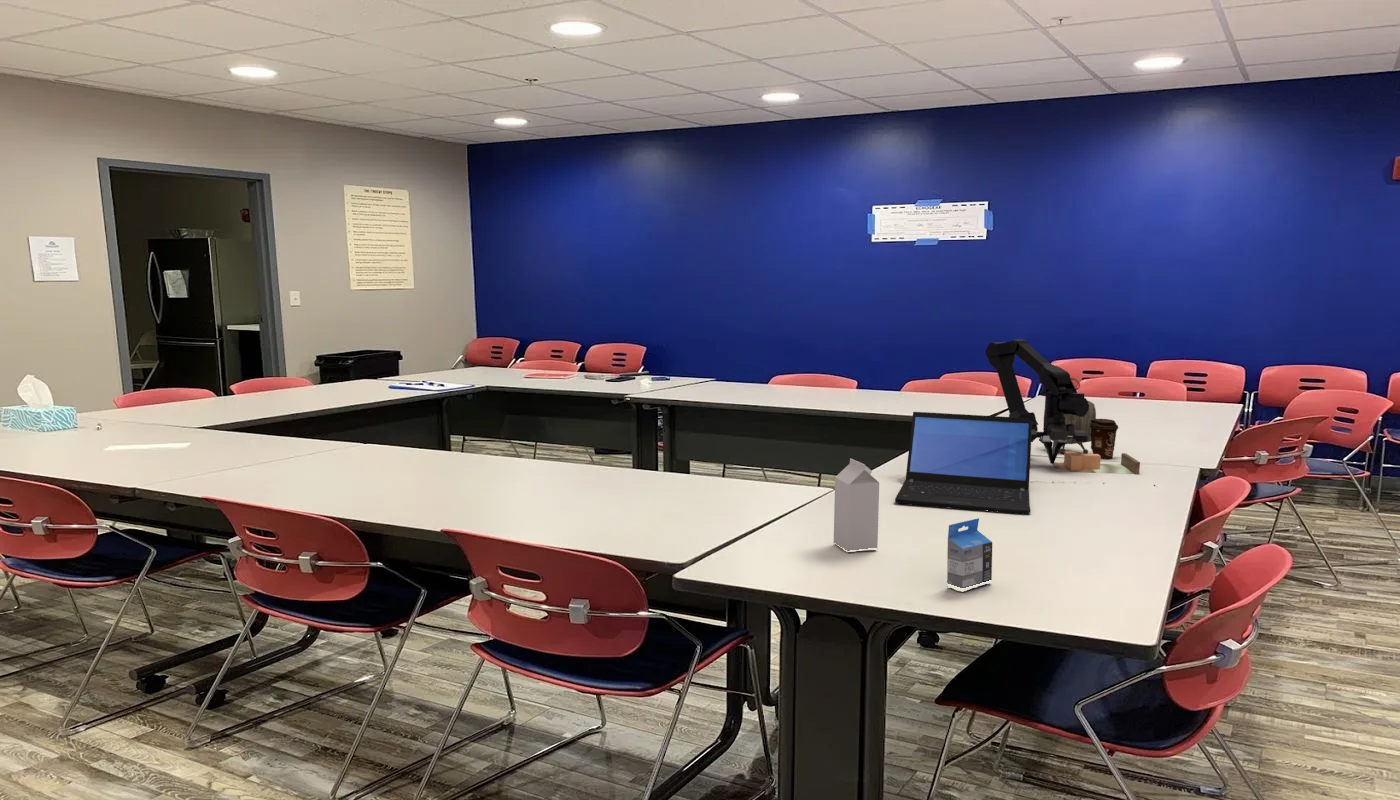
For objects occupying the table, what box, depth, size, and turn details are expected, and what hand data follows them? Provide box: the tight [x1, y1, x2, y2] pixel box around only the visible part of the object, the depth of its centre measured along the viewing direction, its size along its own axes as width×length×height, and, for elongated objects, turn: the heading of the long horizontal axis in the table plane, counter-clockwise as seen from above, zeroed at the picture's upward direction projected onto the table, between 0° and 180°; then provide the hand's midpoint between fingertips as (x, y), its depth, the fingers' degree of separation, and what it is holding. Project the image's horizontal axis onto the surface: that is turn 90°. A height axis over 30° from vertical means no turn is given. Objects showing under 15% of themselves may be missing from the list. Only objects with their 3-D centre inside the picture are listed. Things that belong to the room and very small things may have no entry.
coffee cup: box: [1090, 418, 1119, 460], centre depth 300 cm, size 9×8×13 cm
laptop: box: [894, 411, 1032, 515], centre depth 253 cm, size 33×38×19 cm
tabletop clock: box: [1043, 377, 1097, 454], centre depth 312 cm, size 14×9×25 cm, turn 30°
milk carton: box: [833, 458, 880, 551], centre depth 203 cm, size 7×7×19 cm
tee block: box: [1063, 450, 1102, 471], centre depth 284 cm, size 9×9×4 cm
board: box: [1051, 452, 1141, 475], centre depth 283 cm, size 22×14×4 cm, turn 82°
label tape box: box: [946, 517, 993, 588], centre depth 179 cm, size 9×4×12 cm, turn 126°
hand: (1051, 463), depth 285 cm, fingers closed
